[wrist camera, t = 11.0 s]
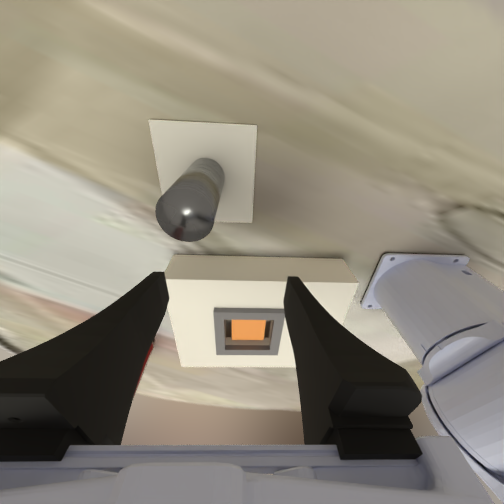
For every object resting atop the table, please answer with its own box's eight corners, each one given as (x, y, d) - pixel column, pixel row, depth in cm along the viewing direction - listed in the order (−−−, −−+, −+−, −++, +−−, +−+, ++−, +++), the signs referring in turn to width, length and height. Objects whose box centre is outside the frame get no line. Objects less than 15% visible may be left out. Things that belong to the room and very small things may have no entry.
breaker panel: (342, 258, 23) (362, 287, 19) (316, 339, 31) (326, 372, 27) (173, 254, 22) (158, 283, 18) (188, 338, 30) (180, 371, 26)
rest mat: (256, 125, 16) (257, 125, 16) (252, 221, 21) (252, 223, 20) (149, 119, 16) (148, 119, 16) (167, 218, 20) (166, 220, 20)
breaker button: (264, 297, 25) (266, 318, 22) (261, 318, 27) (263, 339, 24) (233, 296, 25) (231, 318, 22) (233, 317, 27) (231, 339, 24)
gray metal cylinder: (225, 159, 17) (213, 191, 11) (224, 195, 19) (214, 243, 12) (187, 155, 17) (151, 186, 10) (189, 193, 19) (159, 239, 12)
